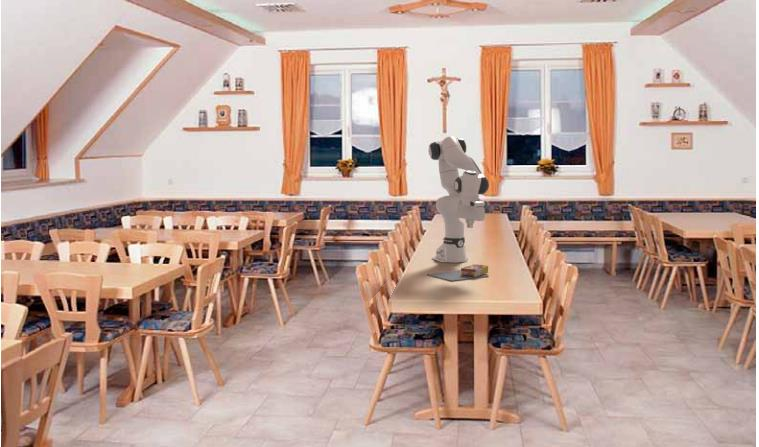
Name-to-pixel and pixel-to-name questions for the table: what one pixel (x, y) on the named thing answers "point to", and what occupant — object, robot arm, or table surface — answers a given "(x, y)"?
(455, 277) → the mat
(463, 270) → the candy box
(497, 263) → the table surface
